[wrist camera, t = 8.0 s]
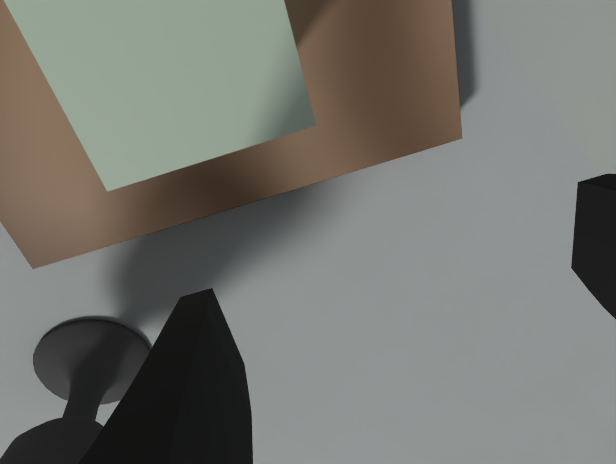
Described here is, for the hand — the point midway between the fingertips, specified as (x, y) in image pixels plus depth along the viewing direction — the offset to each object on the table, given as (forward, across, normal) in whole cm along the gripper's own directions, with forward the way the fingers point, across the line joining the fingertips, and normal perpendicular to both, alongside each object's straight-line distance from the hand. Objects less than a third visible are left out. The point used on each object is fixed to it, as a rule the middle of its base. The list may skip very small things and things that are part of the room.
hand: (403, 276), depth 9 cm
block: (+8, +3, -5) cm, 10 cm away
